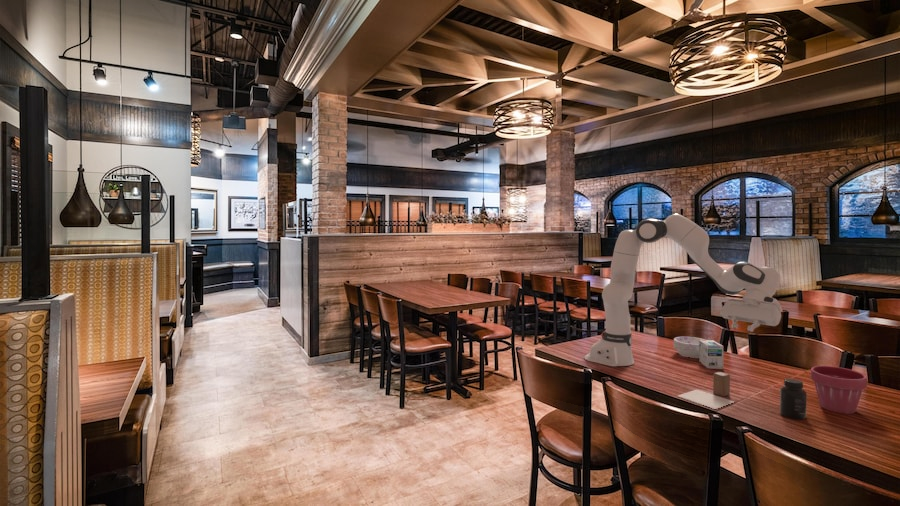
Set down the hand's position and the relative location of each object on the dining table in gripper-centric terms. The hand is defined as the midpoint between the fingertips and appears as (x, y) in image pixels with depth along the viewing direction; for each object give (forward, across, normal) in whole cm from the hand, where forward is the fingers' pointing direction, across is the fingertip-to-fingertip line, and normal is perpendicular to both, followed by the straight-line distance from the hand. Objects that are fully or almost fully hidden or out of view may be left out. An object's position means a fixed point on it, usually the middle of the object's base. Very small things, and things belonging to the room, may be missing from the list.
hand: (741, 329), depth 164 cm
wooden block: (+26, 0, +7) cm, 27 cm away
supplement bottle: (+25, +22, +8) cm, 35 cm away
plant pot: (+12, +27, +22) cm, 37 cm away
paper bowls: (0, -36, +34) cm, 50 cm away
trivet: (+33, 0, 0) cm, 33 cm away
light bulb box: (+4, -22, +29) cm, 37 cm away
